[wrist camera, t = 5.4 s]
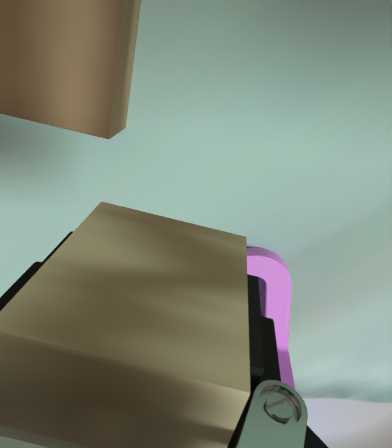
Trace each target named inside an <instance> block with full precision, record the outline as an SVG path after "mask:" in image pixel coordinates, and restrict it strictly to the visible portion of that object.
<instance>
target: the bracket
mask: <svg viewBox="0 0 392 448" xmlns="http://www.w3.org/2000/svg"><path fill="white" fill-rule="evenodd" d="M247 274H249V275H253V276H257V277H260V278H262V279H264V280H265V282H266V286H265V316H264V317H267V318H271V319H273V321H274V326H275V334H276V343H277V351H278V359H279V368H280V376H281V382H283V383H286V384H287V385H289V386H291V387H292V388H293V389H294V390H295V386H294V380H293V375H292V369H291V364H290V358H289V352H288V338H289V321H290V303H291V278H290V274H289V270H288V267H287V265H286V263H285V262H284V260H283V259H282V258H281V257H280V256H279V255H277V254H276V253H274V252H272V251H270V250H268V249H264V248H256V247H254V248H247Z"/></svg>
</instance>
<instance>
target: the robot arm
mask: <svg viewBox="0 0 392 448" xmlns="http://www.w3.org/2000/svg"><path fill="white" fill-rule="evenodd" d="M72 233H73V232H70V233H69V234H68V235H67V236H66V237H65V238H64V239H63V240H62V241H61V243H60V244H59V245H58V246H57V247H56V248H55V249H54V250H53V251H52V252H51V253H50V254H49V255H48V256H47V257H46V259H45V260H44V261H43V262H35V263H34V264H33V265H32V266H31V267H30V268H29V269H28V270H27V271H26V272H25V273H24V274H23V275H22V276H21V277H20V278H19V279H18V280H17V281H16V282H15V283H14V284H13V285H12V286H11V287H10V288H9V289H8V290H7V291H6V292H5V293H4V294H3V295H2V297H1V298H0V311H1V310H2V309H3V308H4V307H5V306H6V305H7V304H8V303H9V301H10V300H11V299H12V298H13V297H14V296H15V295H16V294H17V293H18V292H19V291H20V290H21V288H22V287H23V286H24V285H25V284H26V283H27V282H28V281H29V280H30V279H31V278H32V277H33V275H34V274H35V273H36V272H37V271H38V270H39V269H40V268H41V267H42V266H43V265H44V263H45V262H46V261H47V260H48V259H49V258H50V257H51V256H52V255H53V254H54V253H55V252H56V250H57V249H58V248H59V247H60V246H61V245H62V244H63V243H64V242H65V241H66V240H67V239H68V237H69V236H70V235H71V234H72ZM247 283H248V320H249V357H250V395H249V398H248V400H247V402H246V405H245V407H244V409H243V412H242V414H241V416H240V418H239V421H238V423H237V425H236V428H235V430H234V432H233V435H232V437H231V439H230V442H229V444H228V446H227V448H328V447H327V446H326V445H325V444H324V443H323V441H322V440H321V439H320V438H319V437H318V436H317V435H316V434H315V433H314V432H313V431H312V430H311V429H310V428H309V427H308V426H307V418H308V414H307V407H306V405H305V402H304V400H303V399H302V397H301V396H300V394H299V393H298V392H297V391H295V390H294V389H293V388H292V387H291V386H289V385H287V384H286V383H283V382H281V376H280V368H279V359H278V351H277V343H276V334H275V326H274V321H273V319H271V318H267V317H263V316H261V310H260V297H259V283H258V277H257V276H253V275H249V274H247ZM0 448H91V447H87V446H83V445H79V444H75V443H71V442H67V441H63V440H59V439H55V438H51V437H46V436H42V435H38V434H34V433H30V432H26V431H22V430H18V429H14V428H10V427H6V426H1V425H0Z"/></svg>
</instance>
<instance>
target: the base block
mask: <svg viewBox="0 0 392 448" xmlns="http://www.w3.org/2000/svg"><path fill="white" fill-rule="evenodd" d="M140 4H141V0H0V113H1V114H5V115H9V116H14V117H18V118H22V119H26V120H30V121H35V122H39V123H43V124H47V125H51V126H56V127H60V128H64V129H68V130H72V131H77V132H81V133H85V134H89V135H93V136H98V137H102V138H106V139H110V138H111V137H113V136H114V135H116V134H117V133H119V132H120V131H121V130H123V129H124V128H126V120H127V112H128V103H129V95H130V87H131V78H132V70H133V62H134V53H135V45H136V37H137V29H138V20H139V12H140Z"/></svg>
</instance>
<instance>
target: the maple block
mask: <svg viewBox="0 0 392 448" xmlns="http://www.w3.org/2000/svg"><path fill="white" fill-rule="evenodd" d="M249 395H250V357H249V320H248V283H247V246H246V237H244V236H240V235H236V234H232V233H228V232H224V231H220V230H216V229H212V228H207V227H203V226H199V225H195V224H191V223H187V222H183V221H179V220H175V219H171V218H167V217H162V216H158V215H154V214H150V213H146V212H142V211H138V210H134V209H130V208H126V207H122V206H117V205H113V204H109V203H105V202H101V203H100V204H99V205H98V206H97V207H96V208H95V209H94V210H93V211H92V212H91V214H90V215H89V216H88V217H87V218H86V219H85V220H84V221H83V222H82V223H81V224H80V225H79V227H78V228H77V229H76V230H75V231H74V232H73V233H72V234H71V235H70V236H69V237H68V239H67V240H66V241H65V242H64V243H63V244H62V245H61V246H60V247H59V248H58V249H57V250H56V252H55V253H54V254H53V255H52V256H51V257H50V258H49V259H48V260H47V261H46V262H45V263H44V265H43V266H42V267H41V268H40V269H39V270H38V271H37V272H36V273H35V274H34V275H33V277H32V278H31V279H30V280H29V281H28V282H27V283H26V284H25V285H24V286H23V287H22V288H21V290H20V291H19V292H18V293H17V294H16V295H15V296H14V297H13V298H12V299H11V300H10V301H9V303H8V304H7V305H6V306H5V307H4V308H3V309H2V310H1V311H0V425H1V426H6V427H10V428H14V429H18V430H22V431H26V432H30V433H34V434H38V435H42V436H46V437H51V438H55V439H59V440H63V441H67V442H71V443H75V444H79V445H83V446H87V447H91V448H227V446H228V444H229V442H230V439H231V437H232V435H233V432H234V430H235V428H236V425H237V423H238V421H239V418H240V416H241V414H242V412H243V409H244V407H245V405H246V402H247V400H248V398H249Z"/></svg>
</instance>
